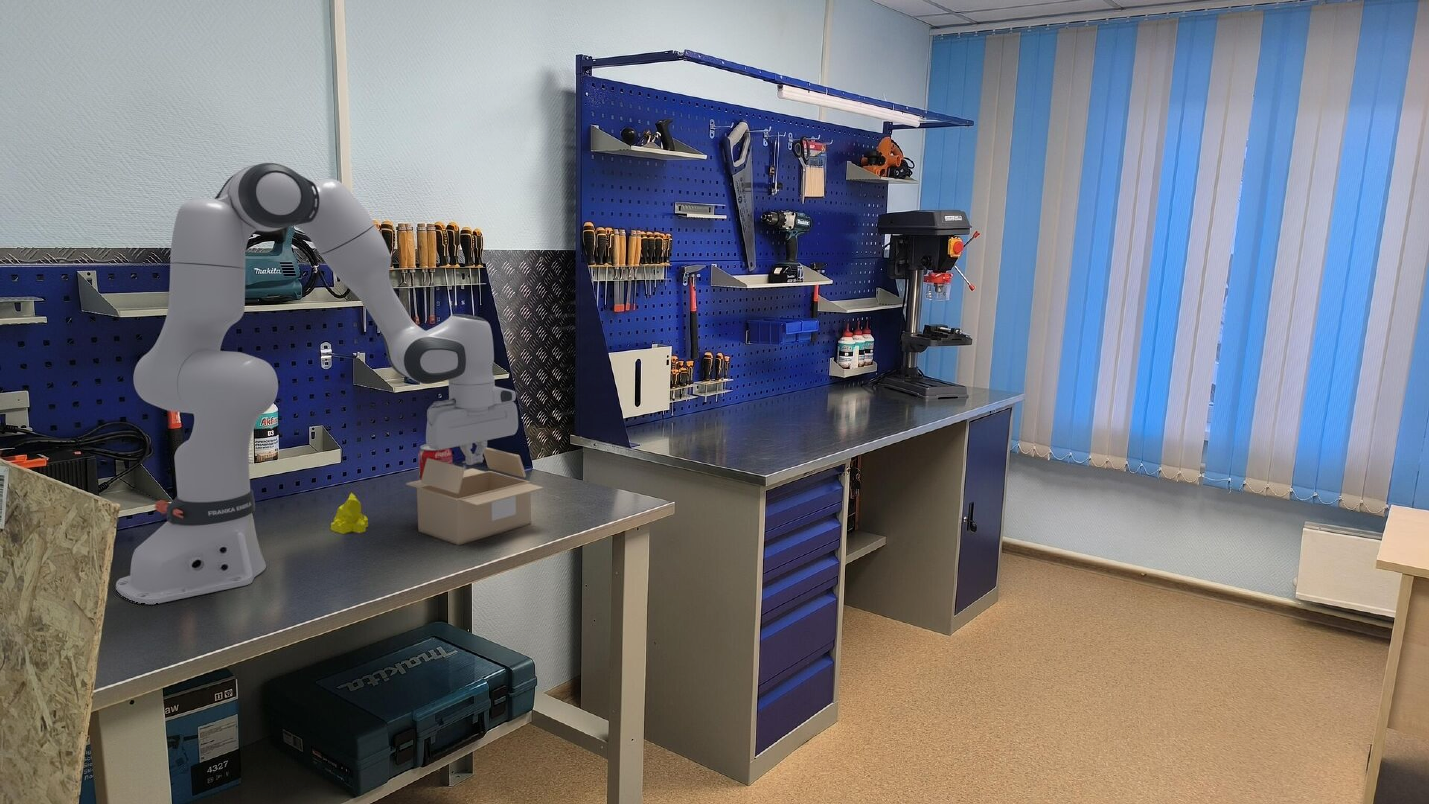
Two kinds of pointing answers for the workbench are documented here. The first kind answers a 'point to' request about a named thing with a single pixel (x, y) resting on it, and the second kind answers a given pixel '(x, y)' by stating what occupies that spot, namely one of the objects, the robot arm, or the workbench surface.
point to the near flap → (442, 475)
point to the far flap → (504, 462)
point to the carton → (474, 506)
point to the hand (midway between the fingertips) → (474, 463)
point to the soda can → (433, 457)
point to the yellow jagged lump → (350, 517)
